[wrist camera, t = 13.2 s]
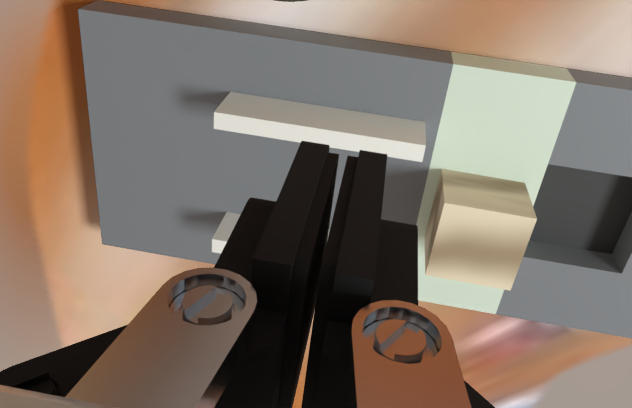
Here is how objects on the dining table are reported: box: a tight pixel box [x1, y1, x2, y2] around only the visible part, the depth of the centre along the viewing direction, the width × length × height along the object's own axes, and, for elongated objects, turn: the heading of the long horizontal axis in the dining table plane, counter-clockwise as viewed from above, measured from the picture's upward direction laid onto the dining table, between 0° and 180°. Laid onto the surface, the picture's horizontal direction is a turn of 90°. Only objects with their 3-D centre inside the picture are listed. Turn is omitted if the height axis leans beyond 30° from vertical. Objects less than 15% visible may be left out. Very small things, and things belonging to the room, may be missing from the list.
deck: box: [78, 0, 632, 338], centre depth 44 cm, size 20×45×7 cm, turn 84°
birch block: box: [424, 169, 537, 291], centre depth 42 cm, size 6×6×5 cm
